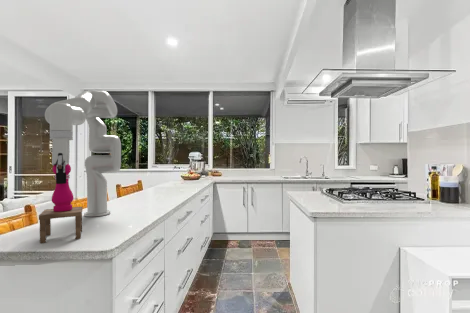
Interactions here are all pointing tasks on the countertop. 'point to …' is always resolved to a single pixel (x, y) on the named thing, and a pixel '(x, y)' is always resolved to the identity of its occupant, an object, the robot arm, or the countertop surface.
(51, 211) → the walnut stool
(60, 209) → the pepper mill
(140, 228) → the countertop surface
